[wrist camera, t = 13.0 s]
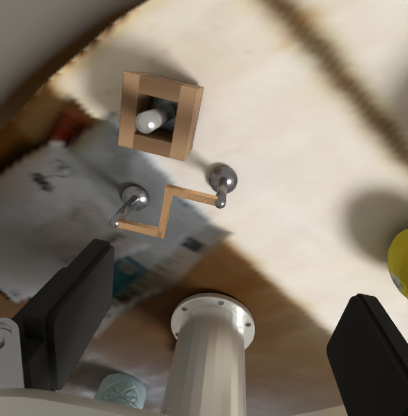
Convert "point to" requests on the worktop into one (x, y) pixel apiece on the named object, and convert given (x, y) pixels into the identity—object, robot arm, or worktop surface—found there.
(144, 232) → the buzz wire
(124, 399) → the light blue cup
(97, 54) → the worktop surface
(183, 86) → the open wooden box
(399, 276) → the lemon
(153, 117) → the peg stand
